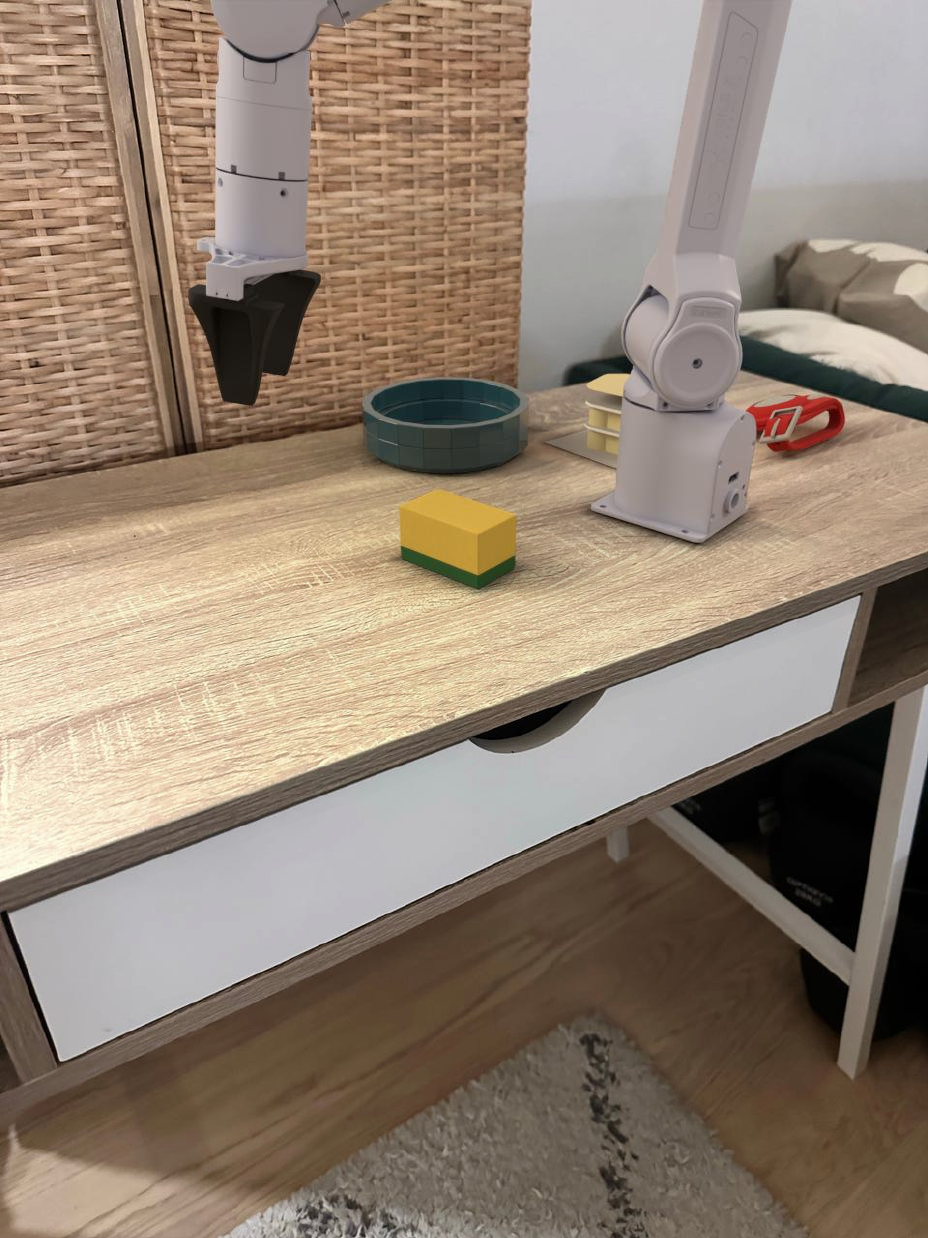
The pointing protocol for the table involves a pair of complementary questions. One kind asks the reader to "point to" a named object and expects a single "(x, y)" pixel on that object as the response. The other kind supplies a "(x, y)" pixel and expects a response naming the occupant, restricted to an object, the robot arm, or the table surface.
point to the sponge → (458, 537)
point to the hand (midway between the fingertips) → (256, 387)
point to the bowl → (445, 424)
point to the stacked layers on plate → (599, 422)
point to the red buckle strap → (795, 419)
